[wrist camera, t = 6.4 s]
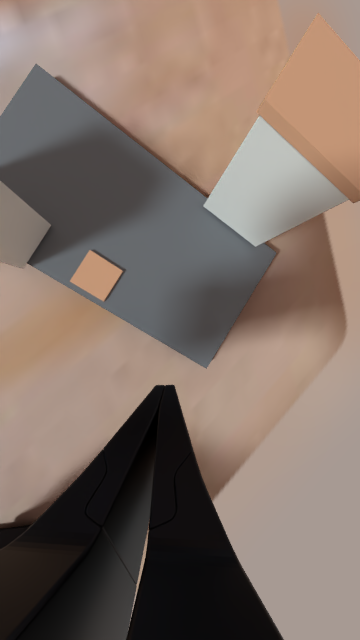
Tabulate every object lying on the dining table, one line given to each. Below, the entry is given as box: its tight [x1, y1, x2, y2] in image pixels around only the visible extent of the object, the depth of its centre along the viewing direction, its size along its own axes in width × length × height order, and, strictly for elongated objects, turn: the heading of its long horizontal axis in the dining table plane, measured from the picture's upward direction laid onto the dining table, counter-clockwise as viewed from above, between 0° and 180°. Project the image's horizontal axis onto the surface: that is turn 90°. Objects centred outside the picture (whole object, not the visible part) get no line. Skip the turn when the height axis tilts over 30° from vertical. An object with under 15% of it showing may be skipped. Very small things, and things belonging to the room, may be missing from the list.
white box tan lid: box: [203, 13, 360, 247], centre depth 14 cm, size 4×6×10 cm
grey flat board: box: [0, 64, 276, 368], centre depth 18 cm, size 13×24×2 cm, turn 58°
